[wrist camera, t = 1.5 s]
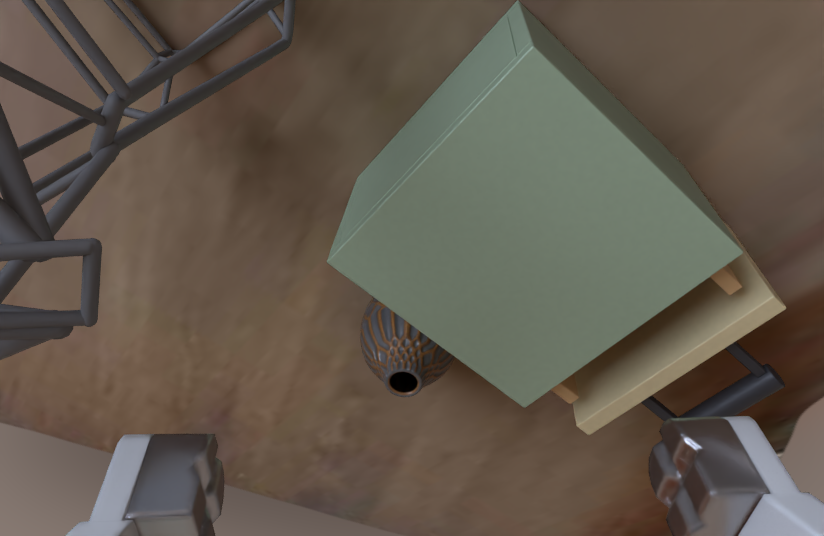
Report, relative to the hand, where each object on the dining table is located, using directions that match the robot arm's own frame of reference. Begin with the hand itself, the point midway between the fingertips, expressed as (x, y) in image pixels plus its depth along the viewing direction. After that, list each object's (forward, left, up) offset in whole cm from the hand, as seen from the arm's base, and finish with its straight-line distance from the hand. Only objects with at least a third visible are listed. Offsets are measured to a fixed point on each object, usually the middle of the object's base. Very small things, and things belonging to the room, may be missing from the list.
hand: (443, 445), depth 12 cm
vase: (+4, +18, -31) cm, 36 cm away
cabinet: (-3, +8, -31) cm, 32 cm away
